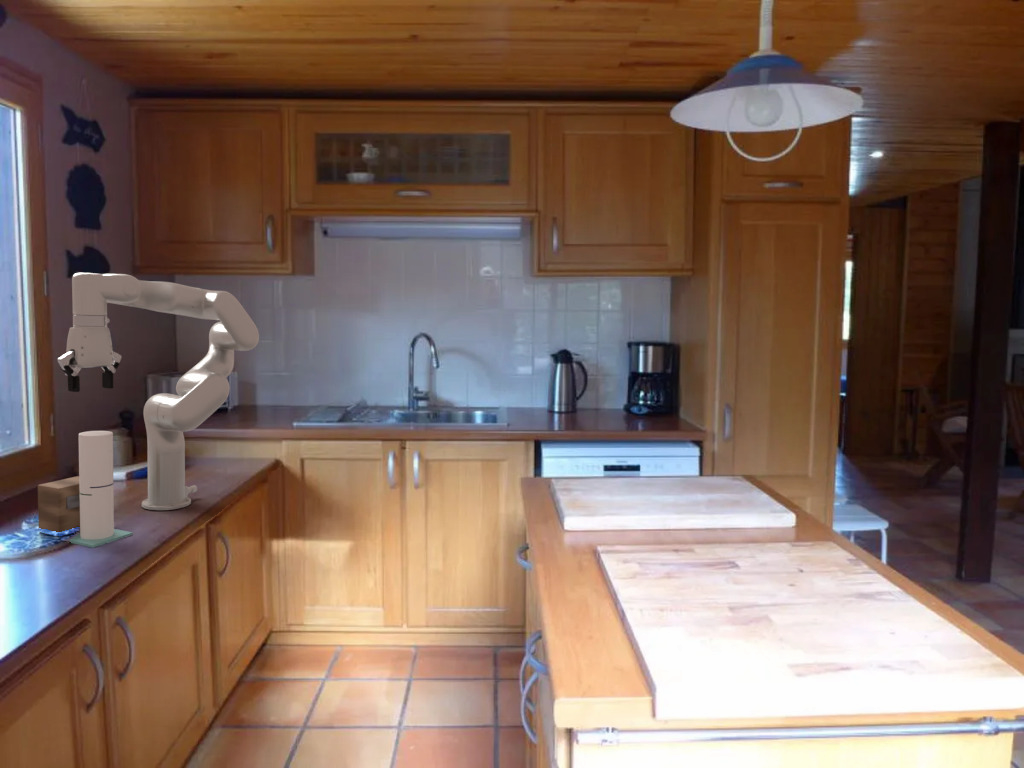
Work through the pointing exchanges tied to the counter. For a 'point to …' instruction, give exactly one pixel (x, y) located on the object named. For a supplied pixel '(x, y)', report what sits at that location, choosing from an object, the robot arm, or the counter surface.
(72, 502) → the walnut housing
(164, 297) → the robot arm
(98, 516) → the cylindrical container
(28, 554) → the counter surface
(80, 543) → the teal pad
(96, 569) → the counter surface
